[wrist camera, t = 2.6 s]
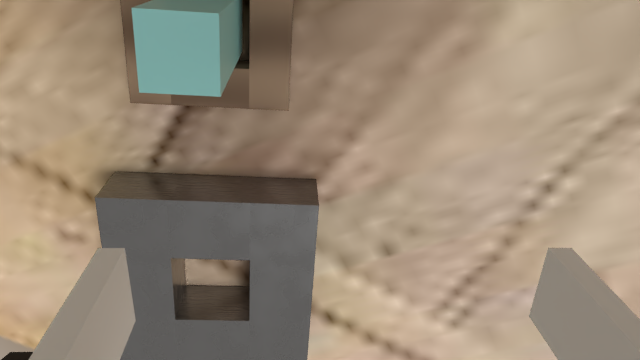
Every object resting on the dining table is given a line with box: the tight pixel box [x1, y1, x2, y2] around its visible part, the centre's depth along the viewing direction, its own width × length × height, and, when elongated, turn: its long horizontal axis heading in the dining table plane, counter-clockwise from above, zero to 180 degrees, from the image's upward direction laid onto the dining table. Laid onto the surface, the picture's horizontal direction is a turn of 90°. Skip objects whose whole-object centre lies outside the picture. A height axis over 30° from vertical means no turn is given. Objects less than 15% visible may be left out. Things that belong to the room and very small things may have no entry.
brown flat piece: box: [120, 0, 293, 111], centre depth 33 cm, size 11×11×2 cm
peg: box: [132, 0, 242, 97], centre depth 29 cm, size 4×4×12 cm
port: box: [95, 172, 319, 360], centre depth 41 cm, size 16×16×4 cm
